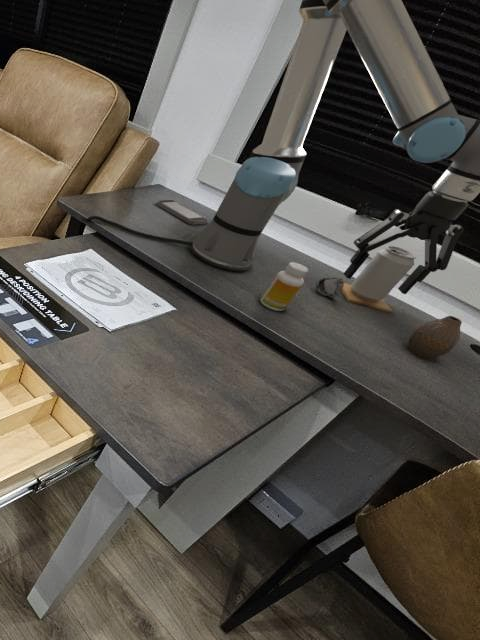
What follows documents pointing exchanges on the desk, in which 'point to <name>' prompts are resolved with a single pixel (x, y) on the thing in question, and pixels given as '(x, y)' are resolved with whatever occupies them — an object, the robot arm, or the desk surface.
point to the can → (383, 273)
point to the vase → (435, 337)
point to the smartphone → (182, 212)
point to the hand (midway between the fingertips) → (373, 283)
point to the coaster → (356, 299)
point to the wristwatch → (321, 287)
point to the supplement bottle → (284, 287)
